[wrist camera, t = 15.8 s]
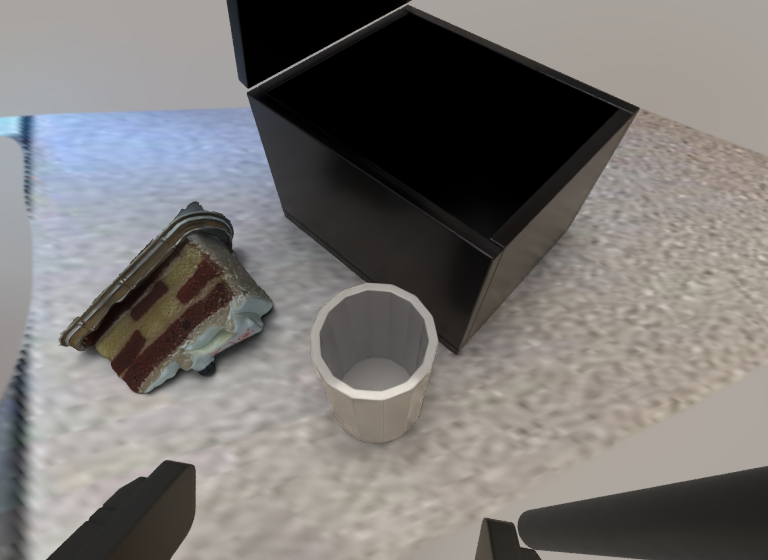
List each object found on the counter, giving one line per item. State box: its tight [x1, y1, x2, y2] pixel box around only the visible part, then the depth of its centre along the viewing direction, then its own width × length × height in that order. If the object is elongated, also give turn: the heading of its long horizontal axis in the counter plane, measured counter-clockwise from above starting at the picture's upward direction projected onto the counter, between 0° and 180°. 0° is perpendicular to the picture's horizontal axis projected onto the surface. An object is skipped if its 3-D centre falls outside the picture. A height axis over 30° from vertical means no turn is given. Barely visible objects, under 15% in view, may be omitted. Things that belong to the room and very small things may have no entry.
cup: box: [310, 283, 438, 443], centre depth 20 cm, size 5×5×8 cm
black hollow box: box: [247, 5, 640, 354], centre depth 27 cm, size 17×14×10 cm
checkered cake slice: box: [59, 202, 273, 393], centre depth 25 cm, size 10×7×12 cm
